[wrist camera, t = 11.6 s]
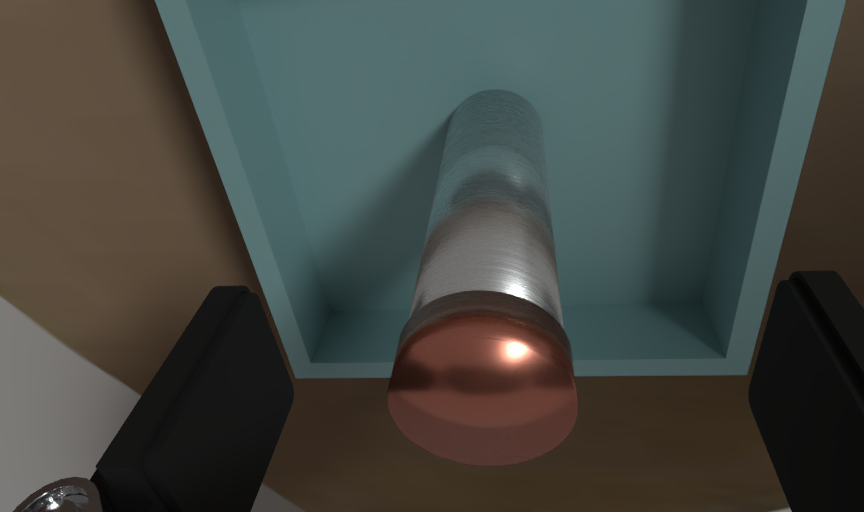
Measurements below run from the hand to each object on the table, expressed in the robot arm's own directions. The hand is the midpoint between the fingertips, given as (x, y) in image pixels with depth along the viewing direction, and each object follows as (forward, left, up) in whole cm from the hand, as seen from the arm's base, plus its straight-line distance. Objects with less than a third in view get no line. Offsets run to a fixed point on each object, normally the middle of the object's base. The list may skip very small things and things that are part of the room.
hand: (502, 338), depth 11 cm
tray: (0, 0, -10) cm, 10 cm away
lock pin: (0, 0, -10) cm, 10 cm away
